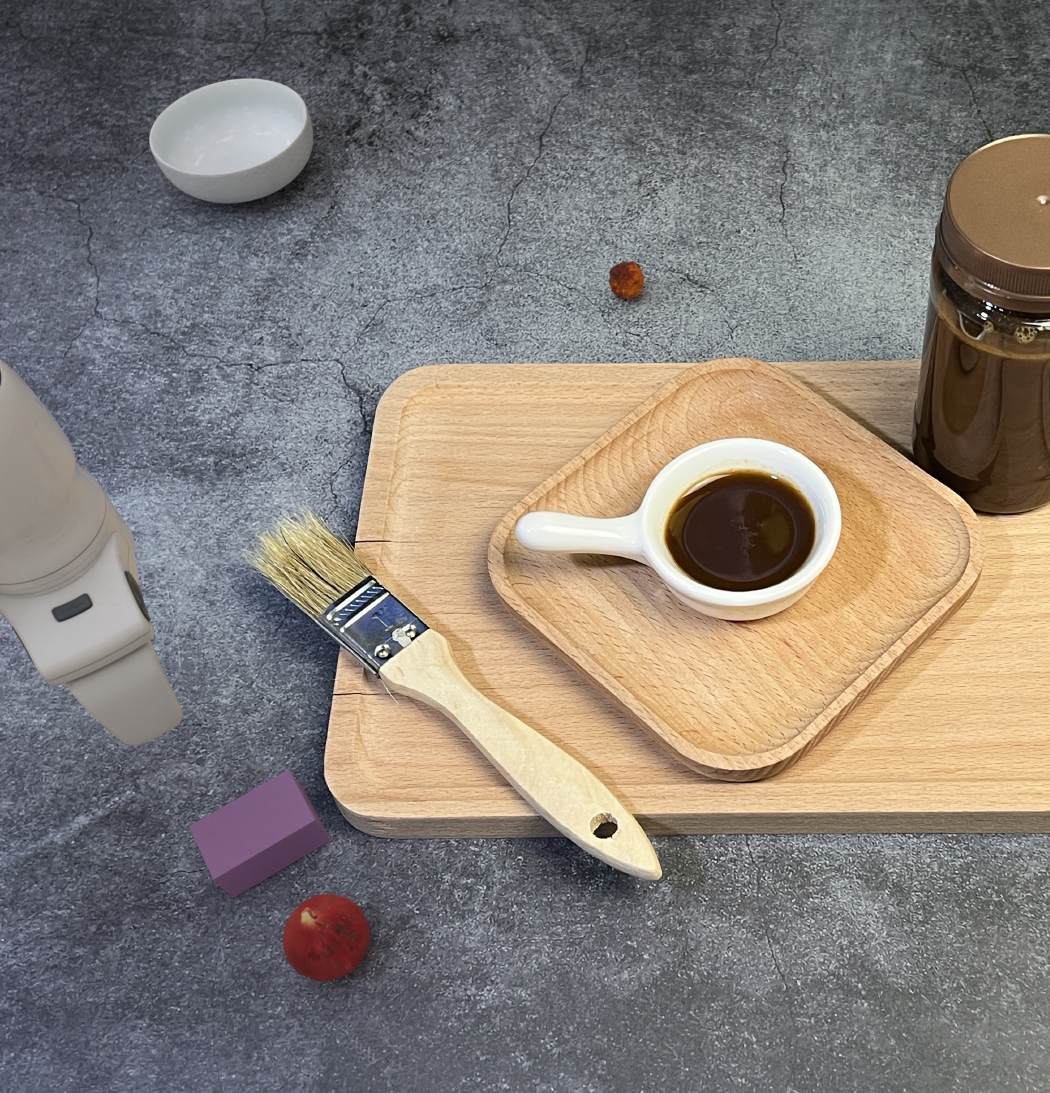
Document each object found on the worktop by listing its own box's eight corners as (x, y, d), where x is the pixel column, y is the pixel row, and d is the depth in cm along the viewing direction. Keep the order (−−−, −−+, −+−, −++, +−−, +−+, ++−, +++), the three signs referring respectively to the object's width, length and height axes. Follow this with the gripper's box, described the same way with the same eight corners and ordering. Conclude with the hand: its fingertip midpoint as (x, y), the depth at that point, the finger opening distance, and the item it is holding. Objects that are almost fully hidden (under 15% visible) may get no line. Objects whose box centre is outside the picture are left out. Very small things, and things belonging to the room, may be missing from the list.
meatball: (640, 279, 132) (636, 249, 129) (650, 302, 130) (646, 273, 127) (606, 288, 132) (601, 258, 129) (616, 311, 130) (611, 282, 127)
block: (208, 846, 99) (188, 826, 96) (305, 790, 101) (288, 768, 98) (232, 899, 97) (213, 879, 93) (331, 840, 99) (315, 819, 96)
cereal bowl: (356, 153, 146) (338, 99, 140) (262, 245, 138) (238, 193, 132) (240, 113, 151) (217, 60, 145) (141, 200, 143) (114, 147, 137)
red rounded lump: (395, 927, 95) (365, 889, 88) (359, 1004, 92) (326, 970, 85) (324, 904, 96) (290, 865, 89) (287, 980, 93) (248, 944, 86)
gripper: (-45, 462, 83) (51, 580, 95) (48, 697, 73) (143, 798, 85) (52, 420, 85) (135, 541, 96) (156, 644, 75) (235, 749, 87)
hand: (139, 663), depth 90 cm, fingers closed
